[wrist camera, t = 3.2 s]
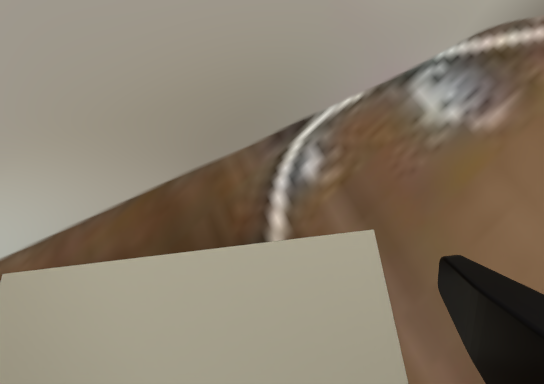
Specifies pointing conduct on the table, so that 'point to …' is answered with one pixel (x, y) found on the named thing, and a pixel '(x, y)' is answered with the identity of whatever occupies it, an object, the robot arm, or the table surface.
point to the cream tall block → (207, 318)
